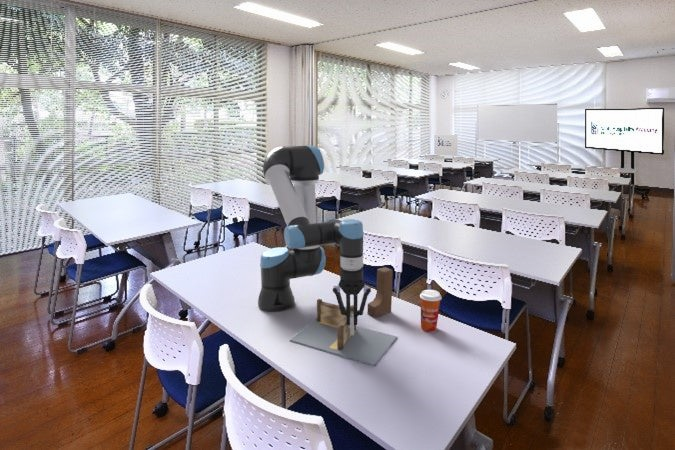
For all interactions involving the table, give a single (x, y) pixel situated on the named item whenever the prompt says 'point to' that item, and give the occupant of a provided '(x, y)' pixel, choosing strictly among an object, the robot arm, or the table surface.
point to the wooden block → (382, 293)
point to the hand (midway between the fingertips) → (352, 333)
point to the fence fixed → (330, 313)
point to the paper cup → (429, 309)
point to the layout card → (358, 346)
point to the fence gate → (343, 332)
